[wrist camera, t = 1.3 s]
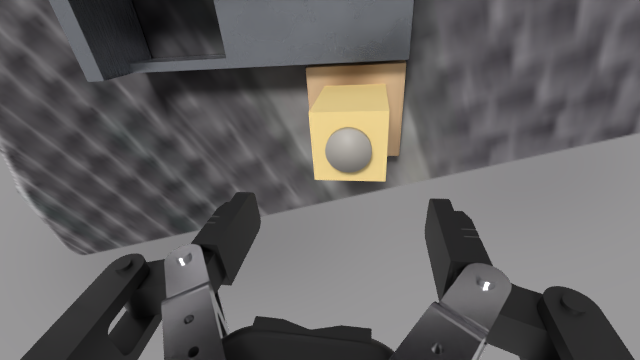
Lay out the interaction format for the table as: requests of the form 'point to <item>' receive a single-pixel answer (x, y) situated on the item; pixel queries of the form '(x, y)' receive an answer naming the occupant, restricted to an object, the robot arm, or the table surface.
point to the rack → (242, 35)
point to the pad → (363, 75)
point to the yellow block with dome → (350, 133)
